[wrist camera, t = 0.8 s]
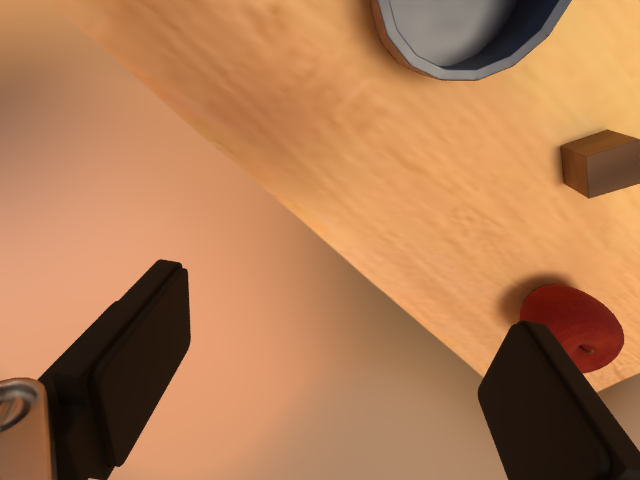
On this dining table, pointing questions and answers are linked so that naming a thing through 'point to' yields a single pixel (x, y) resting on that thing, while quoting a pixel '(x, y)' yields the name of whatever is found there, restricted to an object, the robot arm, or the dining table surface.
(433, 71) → the tin
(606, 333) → the apple
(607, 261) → the dining table surface
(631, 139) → the block
